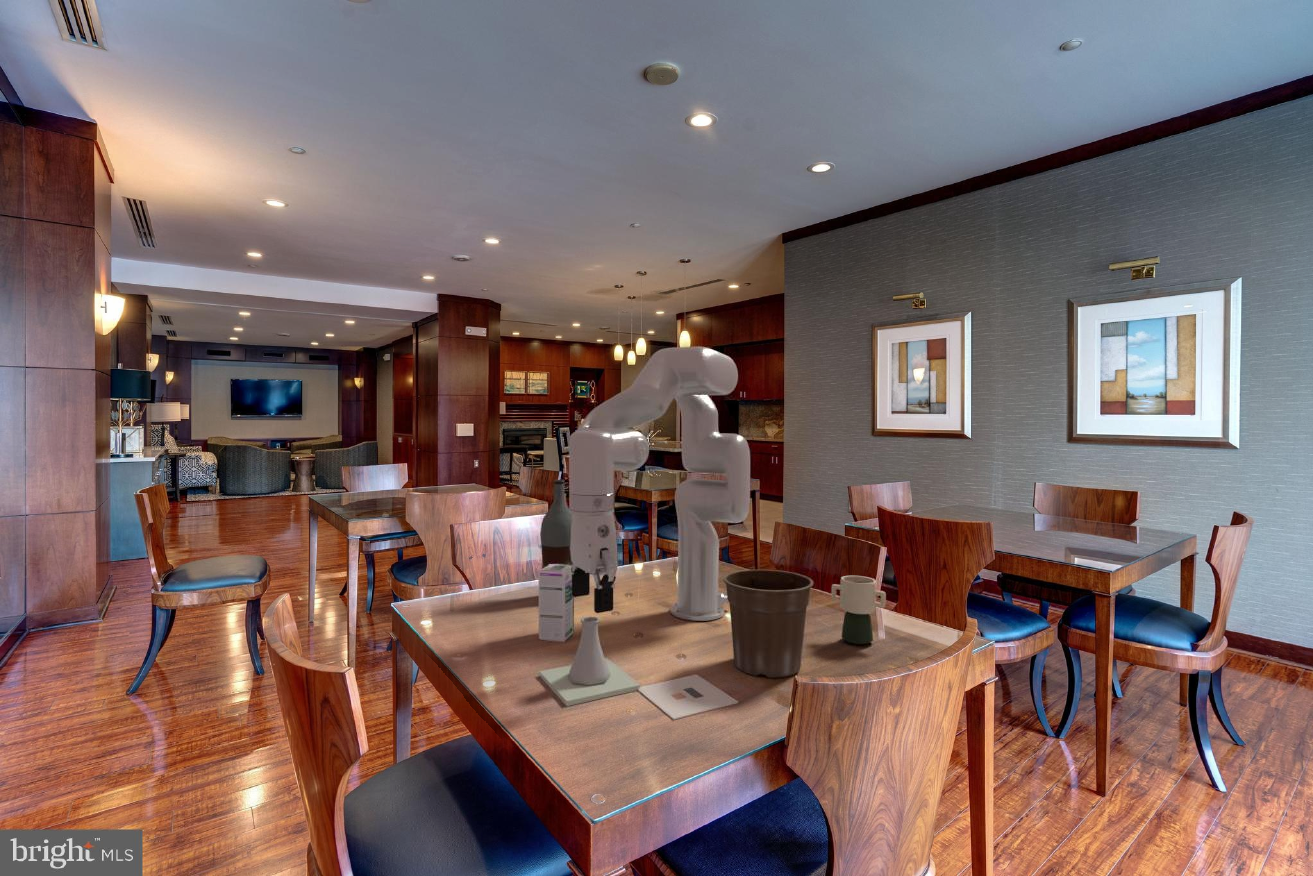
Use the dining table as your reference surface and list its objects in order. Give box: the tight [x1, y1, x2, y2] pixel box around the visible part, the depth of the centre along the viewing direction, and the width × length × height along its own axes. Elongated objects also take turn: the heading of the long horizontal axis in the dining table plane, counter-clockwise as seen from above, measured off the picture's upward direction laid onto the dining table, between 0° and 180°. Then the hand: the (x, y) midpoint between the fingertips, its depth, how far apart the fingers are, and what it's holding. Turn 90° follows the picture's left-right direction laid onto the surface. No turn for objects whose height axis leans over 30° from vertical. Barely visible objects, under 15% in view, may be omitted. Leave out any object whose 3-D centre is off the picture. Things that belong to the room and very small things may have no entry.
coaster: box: [538, 658, 641, 707], centre depth 103 cm, size 13×13×1 cm
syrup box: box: [538, 564, 575, 643], centre depth 125 cm, size 6×6×14 cm
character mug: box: [830, 575, 887, 645], centre depth 125 cm, size 11×7×13 cm, turn 58°
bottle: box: [539, 479, 572, 569], centre depth 152 cm, size 9×9×30 cm
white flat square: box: [637, 674, 739, 721], centre depth 98 cm, size 12×12×1 cm
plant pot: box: [723, 569, 814, 679], centre depth 111 cm, size 16×16×16 cm
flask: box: [568, 616, 610, 685], centre depth 103 cm, size 7×7×10 cm
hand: (591, 603), depth 103 cm, fingers open, 9 cm apart
